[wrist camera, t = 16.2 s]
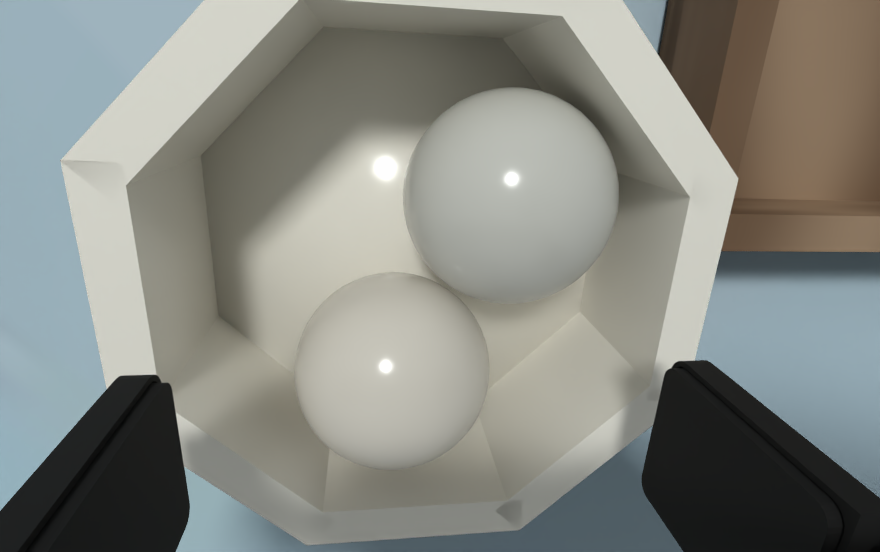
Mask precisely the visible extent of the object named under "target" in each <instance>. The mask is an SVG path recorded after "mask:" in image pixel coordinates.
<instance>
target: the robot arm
mask: <svg viewBox="0 0 880 552" xmlns="http://www.w3.org/2000/svg"><path fill="white" fill-rule="evenodd" d="M642 487H643V490H644V493H645V495H646V497H647V498H648V500H649V501H650V503H651V504H652V506H653V507H654V509H655V510H656V512H657V513H658V515H659V516H660V518H661V519H662V521H663V522H664V524H665V525H666V526H667V528H668V529H669V531H670V532H671V534H672V535H673V537H674V538H675V540H676V541H677V543H678V544H679V546H680V547H681V549H682V550H683V552H880V498H879V497H878V496H876V495H875V494H874V493H873V492H871V491H870V490H869V489H868V488H866V487H865V486H864V485H863V484H862V483H860V482H859V481H858V480H857V479H855V478H854V477H853V476H852V475H850V474H849V473H848V472H847V471H845V470H844V469H843V468H842V467H840V466H839V465H838V464H837V463H835V462H834V461H833V460H832V459H830V458H829V457H828V456H827V455H825V454H824V453H823V452H822V451H820V450H819V449H818V448H817V447H815V446H814V445H813V444H812V443H810V442H809V441H808V440H807V439H805V438H804V437H803V436H802V435H800V434H799V433H798V432H797V431H795V430H794V429H793V428H792V427H790V426H789V425H788V424H787V423H785V422H784V421H783V420H782V419H780V418H779V417H778V416H777V415H775V414H774V413H773V412H772V411H770V410H769V409H768V408H767V407H766V406H764V405H763V404H762V403H761V402H759V401H758V400H757V399H756V398H754V397H753V396H752V395H751V394H749V393H748V392H747V391H746V390H744V389H743V388H742V387H741V386H739V385H738V384H737V383H736V382H734V381H733V380H732V379H731V378H729V377H728V376H727V375H726V374H724V373H723V372H722V371H721V370H719V369H718V368H717V367H716V366H714V365H713V364H712V363H710V362H709V361H704V360H700V361H678V362H676V363H674V365H673V366H672V368H670V369H668V370H667V371H666V372H665V375H664V378H663V383H662V388H661V392H660V397H659V401H658V406H657V410H656V415H655V419H654V424H653V428H652V433H651V437H650V442H649V446H648V451H647V455H646V460H645V464H644V469H643V473H642ZM189 509H190V504H189V496H188V490H187V483H186V477H185V470H184V464H183V457H182V451H181V444H180V437H179V431H178V424H177V418H176V411H175V405H174V398H173V392H172V387H171V385H170V384H169V383H161V380H160V378H159V376H157V375H123V376H119V377H118V378H116V379H115V380H114V382H113V383H112V384H111V385H110V386H109V387H108V388H107V390H106V391H105V392H104V393H103V394H102V395H101V397H100V398H99V399H98V400H97V401H96V402H95V403H94V405H93V406H92V407H91V408H90V409H89V410H88V411H87V413H86V414H85V415H84V416H83V417H82V418H81V419H80V421H79V422H78V423H77V424H76V425H75V426H74V427H73V429H72V430H71V431H70V432H69V433H68V434H67V435H66V437H65V438H64V439H63V440H62V441H61V442H60V443H59V445H58V446H57V447H56V448H55V449H54V450H53V451H52V453H51V454H50V455H49V456H48V457H47V458H46V459H45V461H44V462H43V463H42V464H41V465H40V466H39V467H38V469H37V470H36V471H35V472H34V473H33V474H32V475H31V477H30V478H29V479H28V480H27V481H26V482H25V483H24V485H23V486H22V487H21V488H20V489H19V490H18V491H17V493H16V494H15V495H14V496H13V497H12V498H11V499H10V501H9V502H8V503H7V504H6V505H5V506H4V507H3V509H2V510H1V511H0V552H176V549H177V547H178V545H179V542H180V540H181V537H182V535H183V533H184V530H185V528H186V525H187V522H188V518H189Z"/></svg>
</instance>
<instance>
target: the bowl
mask: <svg viewBox="0 0 880 552" xmlns="http://www.w3.org/2000/svg"><path fill="white" fill-rule="evenodd" d="M506 87H519V88H528V89H534V90H539V91H543V92H546V93H549V94H552V95H554V96H556V97H558V98H560V99H562V100H564V101H566V102H568V103H570V104H571V105H573V106H574V107H575V108H577V109H578V110H579V111H581V112H582V113H583V114H584V115H585V116H586V117H587V118H588V119H589V120H590V121H591V122H592V123H593V124H594V125H595V126H596V128H597V129H598V131H599V132H600V133H601V135H602V136H603V138H604V140H605V142H606V143H607V145H608V147H609V149H610V151H611V154H612V157H613V160H614V163H615V166H616V170H617V176H618V182H619V205H618V212H617V217H616V221H615V224H614V228H613V231H612V233H611V236H610V238H609V240H608V242H607V244H606V246H605V248H604V249H603V251H602V253H601V254H600V256H599V257H598V259H597V260H596V261H595V262H594V264H593V265H592V266H591V267H590V268H589V270H588V271H587V272H585V273H584V274H583V275H582V276H581V277H580V278H579V279H578V280H576V281H575V282H574V283H572V284H571V285H569V286H568V287H566V288H565V289H563V290H561V291H559V292H557V293H555V294H553V295H551V296H548V297H546V298H542V299H539V300H536V301H531V302H525V303H518V304H500V303H491V302H487V301H483V300H479V299H475V298H472V297H470V296H467V295H465V294H463V293H461V292H459V291H457V290H456V289H454V288H452V287H451V286H449V285H447V284H446V283H445V282H443V281H442V280H441V279H440V278H439V277H437V276H436V275H435V274H434V273H433V272H432V271H431V269H430V268H429V267H428V266H427V265H426V264H425V263H424V261H423V260H422V258H421V257H420V255H419V253H418V252H417V250H416V249H415V247H414V244H413V242H412V240H411V237H410V235H409V232H408V229H407V226H406V221H405V216H404V210H403V185H404V179H405V174H406V170H407V166H408V163H409V160H410V157H411V155H412V153H413V151H414V149H415V147H416V145H417V143H418V142H419V140H420V138H421V137H422V135H423V134H424V132H425V131H426V130H427V128H428V127H429V126H430V125H431V124H432V123H433V122H434V121H435V120H436V119H437V118H438V117H439V116H440V115H441V114H442V113H443V112H445V111H446V110H447V109H449V108H450V107H452V106H453V105H455V104H456V103H457V102H459V101H461V100H463V99H466V98H468V97H470V96H472V95H474V94H477V93H480V92H484V91H487V90H492V89H498V88H506ZM60 161H61V166H62V170H63V175H64V180H65V185H66V190H67V195H68V200H69V205H70V210H71V215H72V220H73V225H74V230H75V235H76V240H77V244H78V249H79V254H80V259H81V264H82V269H83V274H84V279H85V284H86V289H87V294H88V299H89V304H90V309H91V314H92V318H93V323H94V328H95V333H96V338H97V343H98V348H99V353H100V358H101V363H102V368H103V373H104V378H105V383H106V388H108V387H109V386H110V385H111V384H112V383H113V382H114V380H115V379H116V378H118V377H119V376H123V375H157V376H159V378H160V380H161V383H169V384H170V385H171V387H172V392H173V398H174V405H175V411H176V418H177V424H178V431H179V437H180V444H181V451H182V457H183V464H184V467H186V468H187V469H189V470H190V471H192V472H194V473H195V474H197V475H198V476H200V477H201V478H203V479H204V480H206V481H208V482H209V483H211V484H212V485H214V486H215V487H217V488H218V489H220V490H222V491H223V492H225V493H226V494H228V495H229V496H231V497H232V498H234V499H235V500H237V501H239V502H240V503H242V504H243V505H245V506H246V507H248V508H249V509H251V510H253V511H254V512H256V513H257V514H259V515H260V516H262V517H263V518H265V519H267V520H268V521H270V522H271V523H273V524H274V525H276V526H277V527H279V528H281V529H282V530H284V531H285V532H287V533H288V534H290V535H291V536H293V537H294V538H296V539H298V540H299V541H301V542H302V543H304V544H305V545H319V544H333V543H347V542H362V541H376V540H390V539H404V538H418V537H432V536H446V535H460V534H474V533H488V532H502V531H516V530H520V529H522V528H523V527H524V526H525V525H527V524H528V523H529V522H530V521H532V520H533V519H534V518H536V517H537V516H538V515H539V514H541V513H542V512H543V511H544V510H546V509H547V508H548V507H549V506H551V505H552V504H553V503H555V502H556V501H557V500H558V499H560V498H561V497H562V496H563V495H565V494H566V493H567V492H569V491H570V490H571V489H572V488H574V487H575V486H576V485H577V484H579V483H580V482H581V481H582V480H584V479H585V478H586V477H588V476H589V475H590V474H591V473H593V472H594V471H595V470H596V469H598V468H599V467H600V466H601V465H603V464H604V463H605V462H607V461H608V460H609V459H610V458H612V457H613V456H614V455H615V454H617V453H618V452H619V451H621V450H622V449H623V448H624V447H626V446H627V445H628V444H629V443H631V442H632V441H633V440H634V439H636V438H637V437H638V436H640V435H641V434H642V433H643V432H645V431H646V430H647V429H648V428H650V427H651V426H652V425H653V424H654V419H655V415H656V410H657V406H658V401H659V397H660V392H661V388H662V383H663V378H664V375H665V372H666V371H667V370H668V369H670V368H672V366H673V365H674V363H676V362H678V361H695V357H696V353H697V349H698V344H699V340H700V336H701V332H702V328H703V324H704V320H705V315H706V311H707V307H708V303H709V299H710V295H711V291H712V286H713V282H714V278H715V274H716V270H717V266H718V262H719V257H720V253H721V249H722V245H723V241H724V237H725V233H726V229H727V224H728V220H729V216H730V212H731V208H732V204H733V200H734V195H735V191H736V187H737V183H738V179H739V178H738V177H737V176H736V174H735V173H734V171H733V169H732V168H731V166H730V165H729V163H728V162H727V160H726V159H725V157H724V156H723V154H722V153H721V151H720V149H719V148H718V146H717V145H716V143H715V142H714V140H713V139H712V137H711V136H710V134H709V132H708V131H707V129H706V128H705V126H704V125H703V123H702V122H701V120H700V119H699V117H698V116H697V114H696V112H695V111H694V109H693V108H692V106H691V105H690V103H689V102H688V100H687V99H686V97H685V96H684V94H683V92H682V91H681V89H680V88H679V86H678V85H677V83H676V82H675V80H674V79H673V77H672V76H671V74H670V72H669V71H668V69H667V68H666V66H665V65H664V63H663V62H662V60H661V59H660V57H659V56H658V54H657V52H656V51H655V49H654V48H653V46H652V45H651V43H650V42H649V40H648V39H647V37H646V36H645V34H644V32H643V31H642V29H641V28H640V26H639V25H638V23H637V22H636V20H635V19H634V17H633V15H632V14H631V12H630V11H629V9H628V8H627V6H626V5H625V3H624V2H623V0H204V1H203V2H202V3H201V4H200V6H199V7H198V8H197V9H196V10H195V11H194V12H193V13H192V14H191V16H190V17H189V18H188V19H187V20H186V21H185V22H184V23H183V24H182V26H181V27H180V28H179V29H178V30H177V31H176V32H175V33H174V35H173V36H172V37H171V38H170V39H169V40H168V41H167V42H166V43H165V45H164V46H163V47H162V48H161V49H160V50H159V51H158V52H157V53H156V55H155V56H154V57H153V58H152V59H151V60H150V61H149V62H148V63H147V65H146V66H145V67H144V68H143V69H142V70H141V71H140V72H139V74H138V75H137V76H136V77H135V78H134V79H133V80H132V81H131V82H130V84H129V85H128V86H127V87H126V88H125V89H124V90H123V91H122V92H121V94H120V95H119V96H118V97H117V98H116V99H115V100H114V101H113V102H112V104H111V105H110V106H109V107H108V108H107V109H106V110H105V111H104V113H103V114H102V115H101V116H100V117H99V118H98V119H97V120H96V121H95V123H94V124H93V125H92V126H91V127H90V128H89V129H88V130H87V131H86V133H85V134H84V135H83V136H82V137H81V138H80V139H79V140H78V141H77V143H76V144H75V145H74V146H73V147H72V148H71V149H70V150H69V152H68V153H67V154H66V155H65V156H64V157H63V158H62V159H61V160H60ZM385 272H404V273H410V274H415V275H419V276H422V277H425V278H428V279H431V280H433V281H435V282H437V283H439V284H441V285H442V286H444V287H446V288H447V289H449V290H450V291H451V292H453V293H454V294H455V295H456V296H457V297H459V298H460V299H461V300H462V301H463V302H464V304H465V305H466V306H467V307H468V308H469V309H470V311H471V312H472V314H473V315H474V316H475V318H476V320H477V322H478V324H479V326H480V327H481V330H482V332H483V335H484V338H485V340H486V344H487V349H488V353H489V363H490V375H489V384H488V390H487V394H486V397H485V401H484V404H483V407H482V409H481V411H480V413H479V416H478V418H477V419H476V421H475V423H474V424H473V426H472V427H471V429H470V430H469V431H468V433H467V434H466V435H465V436H464V437H463V439H462V440H461V441H459V442H458V443H457V444H456V445H455V446H454V447H453V448H452V449H450V450H449V451H447V452H446V453H445V454H443V455H442V456H440V457H438V458H436V459H434V460H432V461H430V462H428V463H426V464H423V465H420V466H416V467H413V468H407V469H401V470H379V469H372V468H368V467H364V466H361V465H358V464H356V463H353V462H351V461H348V460H346V459H344V458H343V457H341V456H339V455H338V454H336V453H335V452H333V451H332V450H331V449H330V448H329V447H327V446H326V445H325V444H324V443H323V442H322V441H321V440H320V439H319V438H318V436H317V435H316V434H315V433H314V432H313V430H312V429H311V427H310V426H309V424H308V422H307V421H306V419H305V417H304V415H303V413H302V410H301V408H300V405H299V402H298V398H297V394H296V390H295V381H294V365H295V358H296V352H297V347H298V344H299V341H300V338H301V335H302V333H303V330H304V328H305V326H306V324H307V322H308V321H309V319H310V318H311V316H312V315H313V313H314V312H315V311H316V309H317V308H318V307H319V306H320V305H321V304H322V302H323V301H324V300H326V299H327V298H328V297H329V296H330V295H331V294H332V293H334V292H335V291H337V290H338V289H339V288H341V287H342V286H344V285H346V284H348V283H350V282H352V281H354V280H356V279H359V278H362V277H365V276H368V275H372V274H377V273H385Z"/></svg>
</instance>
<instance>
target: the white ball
mask: <svg viewBox="0 0 880 552" xmlns="http://www.w3.org/2000/svg"><path fill="white" fill-rule="evenodd" d="M618 205H619V182H618V176H617V170H616V166H615V163H614V160H613V157H612V154H611V151H610V149H609V147H608V145H607V143H606V142H605V140H604V138H603V136H602V135H601V133H600V132H599V131H598V129H597V128H596V126H595V125H594V124H593V123H592V122H591V121H590V120H589V119H588V118H587V117H586V116H585V115H584V114H583V113H582V112H581V111H579V110H578V109H577V108H575V107H574V106H573V105H571V104H570V103H568V102H566V101H564V100H562V99H560V98H558V97H556V96H554V95H552V94H549V93H546V92H543V91H539V90H534V89H528V88H519V87H506V88H498V89H492V90H487V91H484V92H480V93H477V94H474V95H472V96H470V97H468V98H466V99H463V100H461V101H459V102H457V103H456V104H455V105H453V106H452V107H450V108H449V109H447V110H446V111H445V112H443V113H442V114H441V115H440V116H439V117H438V118H437V119H436V120H435V121H434V122H433V123H432V124H431V125H430V126H429V127H428V128H427V130H426V131H425V132H424V134H423V135H422V137H421V138H420V140H419V142H418V143H417V145H416V147H415V149H414V151H413V153H412V155H411V157H410V160H409V163H408V166H407V170H406V174H405V179H404V185H403V210H404V216H405V221H406V226H407V229H408V232H409V235H410V237H411V240H412V242H413V244H414V247H415V249H416V250H417V252H418V253H419V255H420V257H421V258H422V260H423V261H424V263H425V264H426V265H427V266H428V267H429V268H430V269H431V271H432V272H433V273H434V274H435V275H436V276H437V277H439V278H440V279H441V280H442V281H443V282H445V283H446V284H447V285H449V286H451V287H452V288H454V289H456V290H457V291H459V292H461V293H463V294H465V295H467V296H470V297H472V298H475V299H479V300H483V301H487V302H491V303H500V304H518V303H525V302H531V301H536V300H539V299H542V298H546V297H548V296H551V295H553V294H555V293H557V292H559V291H561V290H563V289H565V288H566V287H568V286H569V285H571V284H572V283H574V282H575V281H576V280H578V279H579V278H580V277H581V276H582V275H583V274H584V273H585V272H587V271H588V270H589V268H590V267H591V266H592V265H593V264H594V262H595V261H596V260H597V259H598V257H599V256H600V254H601V253H602V251H603V249H604V248H605V246H606V244H607V242H608V240H609V238H610V236H611V233H612V231H613V228H614V224H615V221H616V217H617V212H618Z"/></svg>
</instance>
